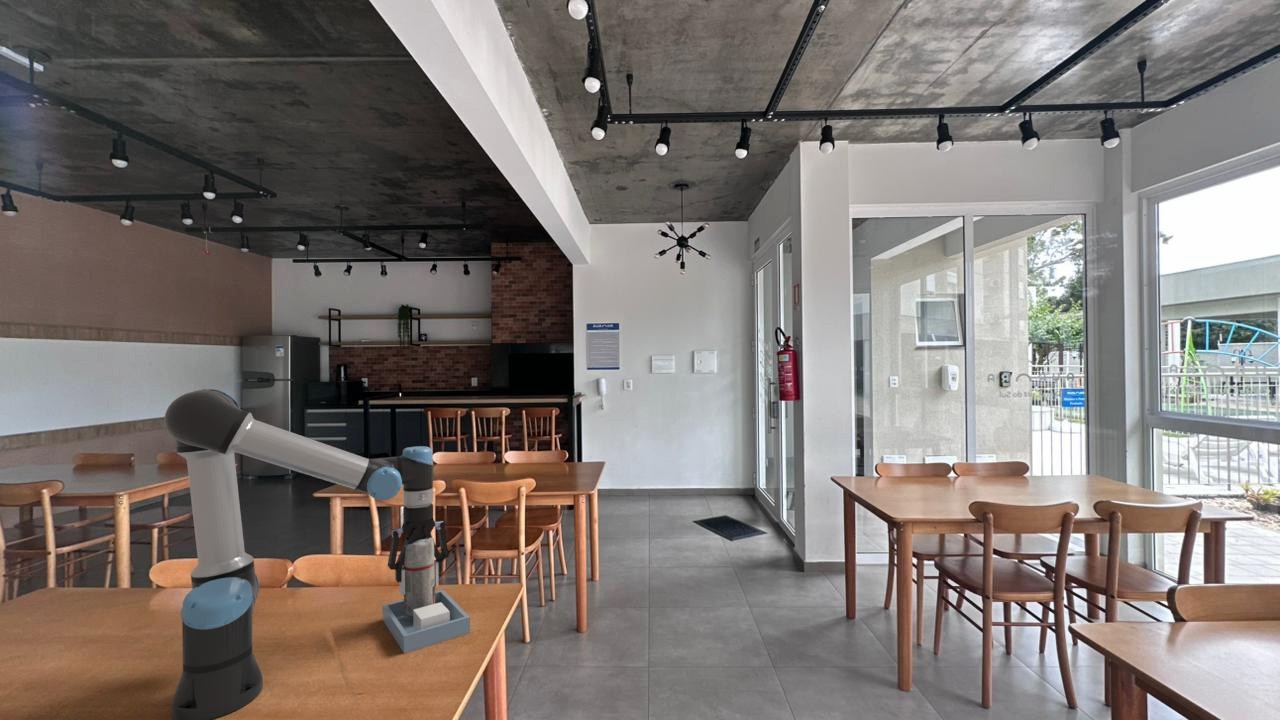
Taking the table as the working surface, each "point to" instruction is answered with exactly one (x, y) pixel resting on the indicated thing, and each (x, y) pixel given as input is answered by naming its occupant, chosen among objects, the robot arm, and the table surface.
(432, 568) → the grey banded cylinder
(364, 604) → the table surface
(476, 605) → the table surface
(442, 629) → the tote
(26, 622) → the table surface
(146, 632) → the table surface
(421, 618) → the soap bar
